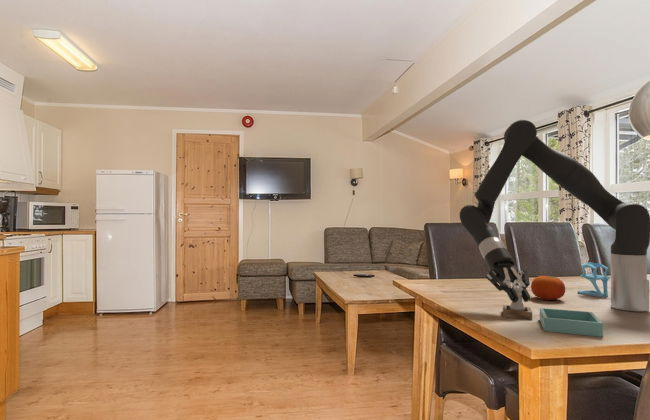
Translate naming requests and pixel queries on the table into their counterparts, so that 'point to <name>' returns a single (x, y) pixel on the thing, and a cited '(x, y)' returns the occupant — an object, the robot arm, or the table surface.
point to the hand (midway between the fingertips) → (521, 300)
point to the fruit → (548, 287)
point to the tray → (571, 322)
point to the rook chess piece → (518, 304)
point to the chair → (595, 277)
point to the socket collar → (517, 313)
